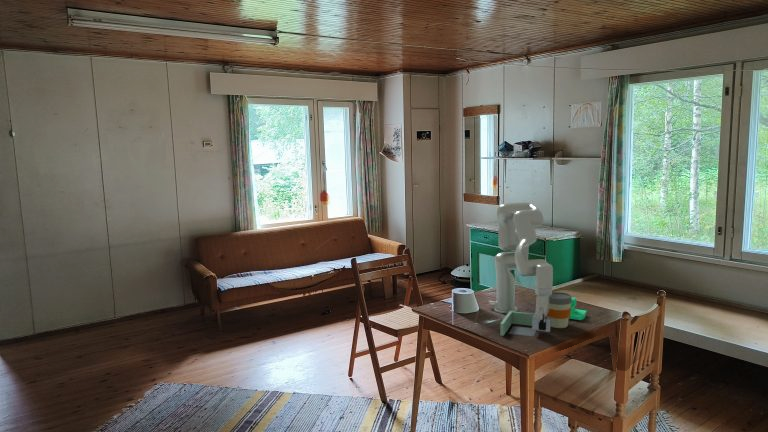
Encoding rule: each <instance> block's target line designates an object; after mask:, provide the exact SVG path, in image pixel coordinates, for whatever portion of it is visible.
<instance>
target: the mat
mask: <svg viewBox="0 0 768 432" xmlns="http://www.w3.org/2000/svg"><path fill="white" fill-rule="evenodd" d="M537 331H538V330H534V329H532V327H523V326H517V325H513V326H512V328H511V329H510V331H509V332H508V335H515V336H524V337H532V338H533V337H535V334H536V333H537Z"/></svg>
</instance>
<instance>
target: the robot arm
mask: <svg viewBox="0 0 768 432" xmlns="http://www.w3.org/2000/svg"><path fill="white" fill-rule="evenodd" d="M496 217H497V222H498V236H497V237H498V239H497V240H498V248H499V249H500V250H501V252H498V253H497V254H496V255H495V256H494V266H495V273H496V274H495V275H496V276H495V277H496V279H495V280H496V289H495V290H496V297H495V298H496V300H494V301H493V300H488V304H489V306H493V311H494V312H496V313H500V314H508V312H509V311H515V312H518V311H519V310H518V307H517V306H515V302H516V301H515V297H516V296H515V294H516V293H515V289H516V288H515V287H516V283H515V276H514V274H513V273H512V272H511V271H513V270H517V272H518V273H519V275H520V276H522V277H535V279H534V280H535V281H534V282H535V283H534V294H535V295H536V298H535V299H536V301H535V304H536V305H535V312H536V313H535V312H534V313H535V315H536V316H537V315H538V314H539V330H538V331H540V330H544V331H543V332H545V330H546V322H545V318H546V317H547V314H548V312H549V303H550V295H552V292H553V281H554V279H553V278H554V268H553V265H552V264H551V263H549V262H548V261H547V260H546V259H542V258H541V259H539V258H538V259H529V252H530V250H529V248H530V246H531V245H532V244H534V243H535V242H537V240H538V236H537V233H536V229H535V227H540V226H542V225H543V223H544V215H543V213H542V211H541V210H540V209H539V208H538V207H537V206H536V205H534V204H533V203H530V202H507V203H502V204H499V205H498V206H497V209H496ZM502 251H504V252H502ZM543 317H544V318H543Z"/></svg>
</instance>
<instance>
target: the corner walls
mask: <svg viewBox="0 0 768 432" xmlns="http://www.w3.org/2000/svg"><path fill="white" fill-rule="evenodd" d="M534 313H535V312H534ZM534 313H533V312H532V313H531V312H521V311H517V312H515V311H509V312H508V313H506V315H505V316H504V317H503V320H501V322H500V325H499V327H500V329H499V330H500V333H499V335H500V336H501V337H504V336H505V335H506V334H507V331H508V330H509V329H510V327H511V325H512V324H513V325H522V326H528V327H530V326H531V327H532V318H533V315H534Z"/></svg>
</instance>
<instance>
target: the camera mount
mask: <svg viewBox="0 0 768 432" xmlns="http://www.w3.org/2000/svg"><path fill="white" fill-rule="evenodd" d="M576 306H577V297H572V303H571V313H570V317H569V320H572V319H573V320H577V321H583V320H585V318H586V315H587V310H584V309H583V310H582V309H577V308H575V307H576Z"/></svg>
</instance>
